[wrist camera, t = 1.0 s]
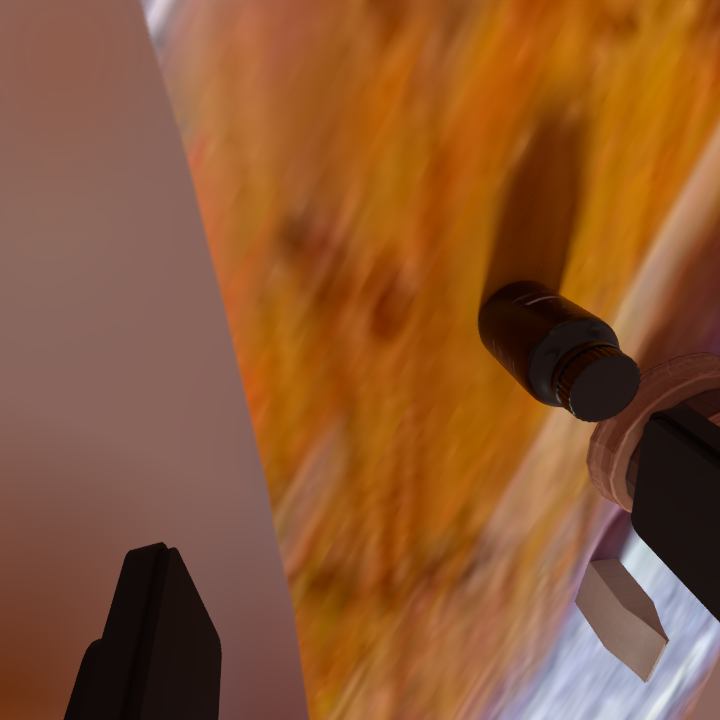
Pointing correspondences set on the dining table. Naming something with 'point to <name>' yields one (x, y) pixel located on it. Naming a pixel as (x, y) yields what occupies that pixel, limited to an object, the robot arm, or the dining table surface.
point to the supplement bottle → (558, 351)
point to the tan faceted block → (622, 616)
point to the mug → (625, 430)
